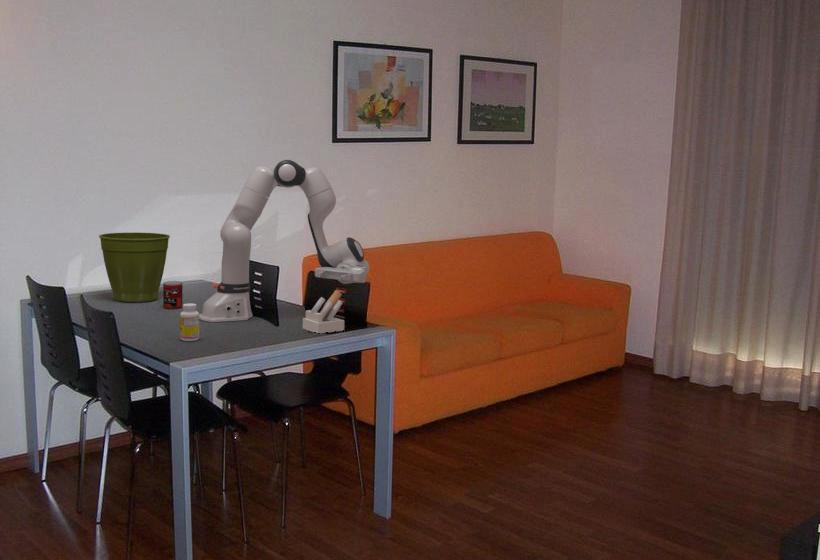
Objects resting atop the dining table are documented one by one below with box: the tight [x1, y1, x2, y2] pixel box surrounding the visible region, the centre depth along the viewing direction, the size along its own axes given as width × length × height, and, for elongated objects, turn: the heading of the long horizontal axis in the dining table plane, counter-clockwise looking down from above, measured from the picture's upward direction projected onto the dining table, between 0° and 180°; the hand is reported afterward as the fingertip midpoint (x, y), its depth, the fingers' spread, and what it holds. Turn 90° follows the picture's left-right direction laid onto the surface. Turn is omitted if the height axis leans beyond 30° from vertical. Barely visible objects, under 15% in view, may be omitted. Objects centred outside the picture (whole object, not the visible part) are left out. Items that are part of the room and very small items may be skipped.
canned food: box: [162, 280, 183, 310], centre depth 363 cm, size 8×8×11 cm
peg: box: [319, 290, 343, 318], centre depth 333 cm, size 3×3×12 cm
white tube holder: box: [302, 296, 345, 334], centre depth 332 cm, size 14×11×13 cm
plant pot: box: [98, 231, 171, 303], centre depth 378 cm, size 30×30×29 cm
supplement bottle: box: [179, 302, 200, 342], centre depth 305 cm, size 7×7×13 cm
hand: (331, 276), depth 331 cm, fingers open, 8 cm apart
